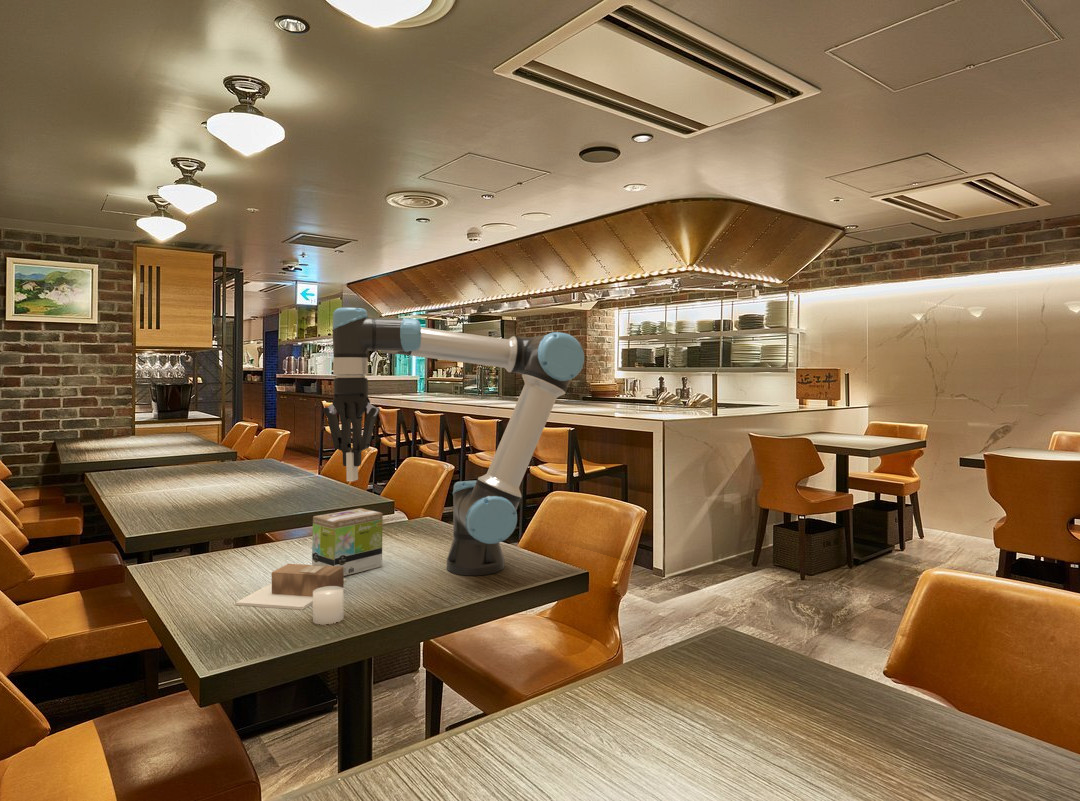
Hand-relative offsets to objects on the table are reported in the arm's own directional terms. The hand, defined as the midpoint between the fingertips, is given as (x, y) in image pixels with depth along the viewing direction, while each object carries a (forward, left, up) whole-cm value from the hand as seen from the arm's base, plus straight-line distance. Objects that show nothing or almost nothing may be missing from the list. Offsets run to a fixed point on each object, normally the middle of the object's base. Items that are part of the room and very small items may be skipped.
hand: (352, 480), depth 148 cm
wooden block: (+4, +1, -23) cm, 24 cm away
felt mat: (+14, +1, -27) cm, 30 cm away
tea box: (+10, -18, -27) cm, 34 cm away
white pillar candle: (-2, +15, -27) cm, 30 cm away
